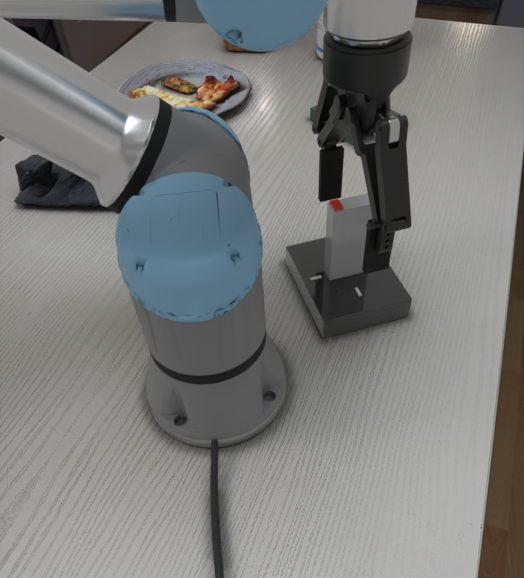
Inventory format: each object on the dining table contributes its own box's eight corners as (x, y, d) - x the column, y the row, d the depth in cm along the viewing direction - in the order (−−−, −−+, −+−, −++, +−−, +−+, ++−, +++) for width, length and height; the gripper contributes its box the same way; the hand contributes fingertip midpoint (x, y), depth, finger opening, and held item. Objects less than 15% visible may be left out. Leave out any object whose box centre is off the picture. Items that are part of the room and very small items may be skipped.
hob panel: (408, 316, 66) (412, 298, 63) (322, 338, 64) (323, 320, 62) (362, 245, 74) (364, 227, 72) (286, 263, 73) (285, 245, 70)
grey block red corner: (361, 261, 68) (369, 190, 60) (367, 271, 67) (377, 200, 59) (323, 270, 67) (327, 200, 59) (329, 280, 66) (333, 210, 58)
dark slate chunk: (137, 223, 80) (130, 195, 76) (6, 207, 84) (-7, 180, 81) (173, 166, 89) (168, 139, 86) (53, 154, 94) (43, 128, 90)
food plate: (275, 93, 104) (275, 74, 101) (189, 146, 93) (186, 126, 90) (184, 61, 115) (181, 43, 112) (98, 105, 104) (92, 87, 101)
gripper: (488, 84, 39) (432, 296, 55) (352, -23, 54) (341, 167, 70) (390, 104, 38) (363, 314, 54) (281, -11, 53) (286, 179, 69)
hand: (350, 231), depth 62 cm, fingers open, 13 cm apart
